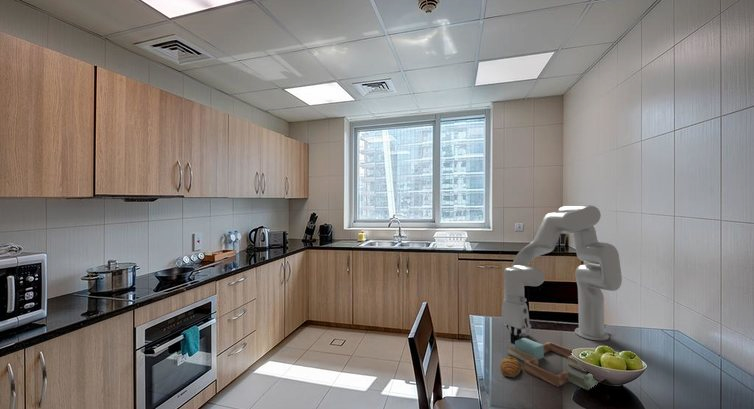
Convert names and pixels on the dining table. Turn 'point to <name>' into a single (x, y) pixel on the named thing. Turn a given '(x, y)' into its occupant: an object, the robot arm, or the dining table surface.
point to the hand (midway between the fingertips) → (515, 343)
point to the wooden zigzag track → (556, 380)
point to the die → (525, 333)
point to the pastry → (510, 367)
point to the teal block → (530, 347)
